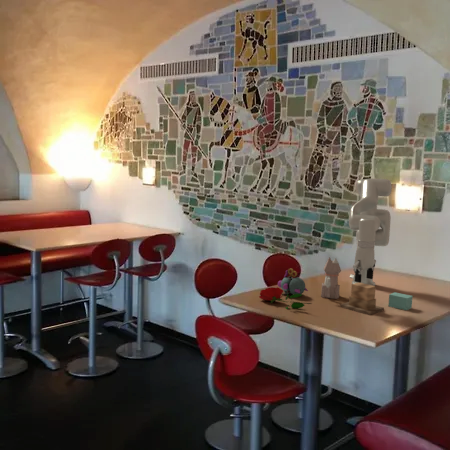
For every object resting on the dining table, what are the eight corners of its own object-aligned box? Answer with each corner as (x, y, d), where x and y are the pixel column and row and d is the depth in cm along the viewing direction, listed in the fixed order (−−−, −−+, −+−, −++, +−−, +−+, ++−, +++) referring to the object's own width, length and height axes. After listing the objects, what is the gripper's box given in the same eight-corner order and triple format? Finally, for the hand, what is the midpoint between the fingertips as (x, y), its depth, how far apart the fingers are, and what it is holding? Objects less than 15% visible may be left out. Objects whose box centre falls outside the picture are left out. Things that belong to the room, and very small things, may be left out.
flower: (315, 288, 252) (262, 281, 271) (305, 301, 246) (252, 293, 266) (320, 303, 255) (268, 295, 275) (310, 317, 250) (258, 308, 269)
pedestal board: (340, 306, 263) (340, 296, 262) (354, 302, 271) (355, 292, 270) (369, 314, 251) (370, 303, 251) (383, 310, 259) (384, 299, 259)
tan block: (350, 296, 262) (351, 284, 261) (358, 294, 266) (359, 282, 265) (367, 300, 255) (368, 288, 254) (374, 298, 259) (375, 286, 258)
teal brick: (388, 306, 266) (389, 294, 265) (393, 304, 271) (394, 292, 270) (406, 310, 260) (407, 298, 259) (411, 308, 265) (412, 295, 264)
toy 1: (273, 294, 283) (297, 299, 272) (274, 267, 281) (297, 272, 271) (287, 290, 291) (310, 295, 280) (288, 265, 289) (311, 269, 279)
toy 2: (340, 294, 285) (343, 256, 283) (335, 303, 268) (338, 262, 266) (323, 292, 288) (325, 254, 285) (317, 301, 271) (319, 261, 268)
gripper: (369, 240, 265) (367, 275, 268) (348, 245, 254) (346, 281, 257) (383, 243, 260) (380, 278, 263) (362, 248, 248) (360, 285, 251)
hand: (363, 280), depth 260 cm, fingers open, 9 cm apart
